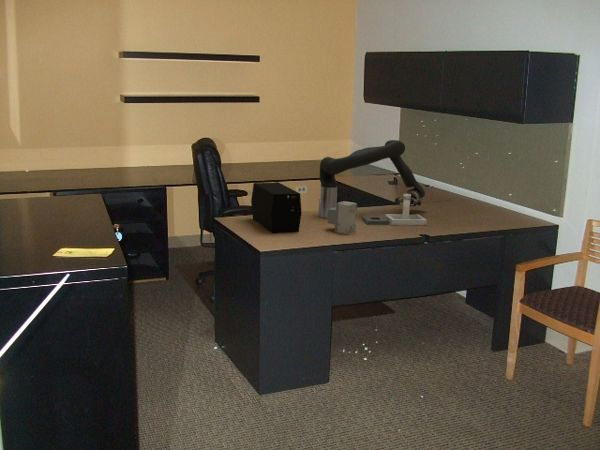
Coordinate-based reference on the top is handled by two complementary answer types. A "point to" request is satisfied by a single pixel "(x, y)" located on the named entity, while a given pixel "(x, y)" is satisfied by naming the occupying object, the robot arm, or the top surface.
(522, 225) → the top surface
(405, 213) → the fuse
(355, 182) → the top surface
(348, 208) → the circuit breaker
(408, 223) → the tray
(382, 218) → the fuse holder
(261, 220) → the uninterruptible power supply
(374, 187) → the top surface
